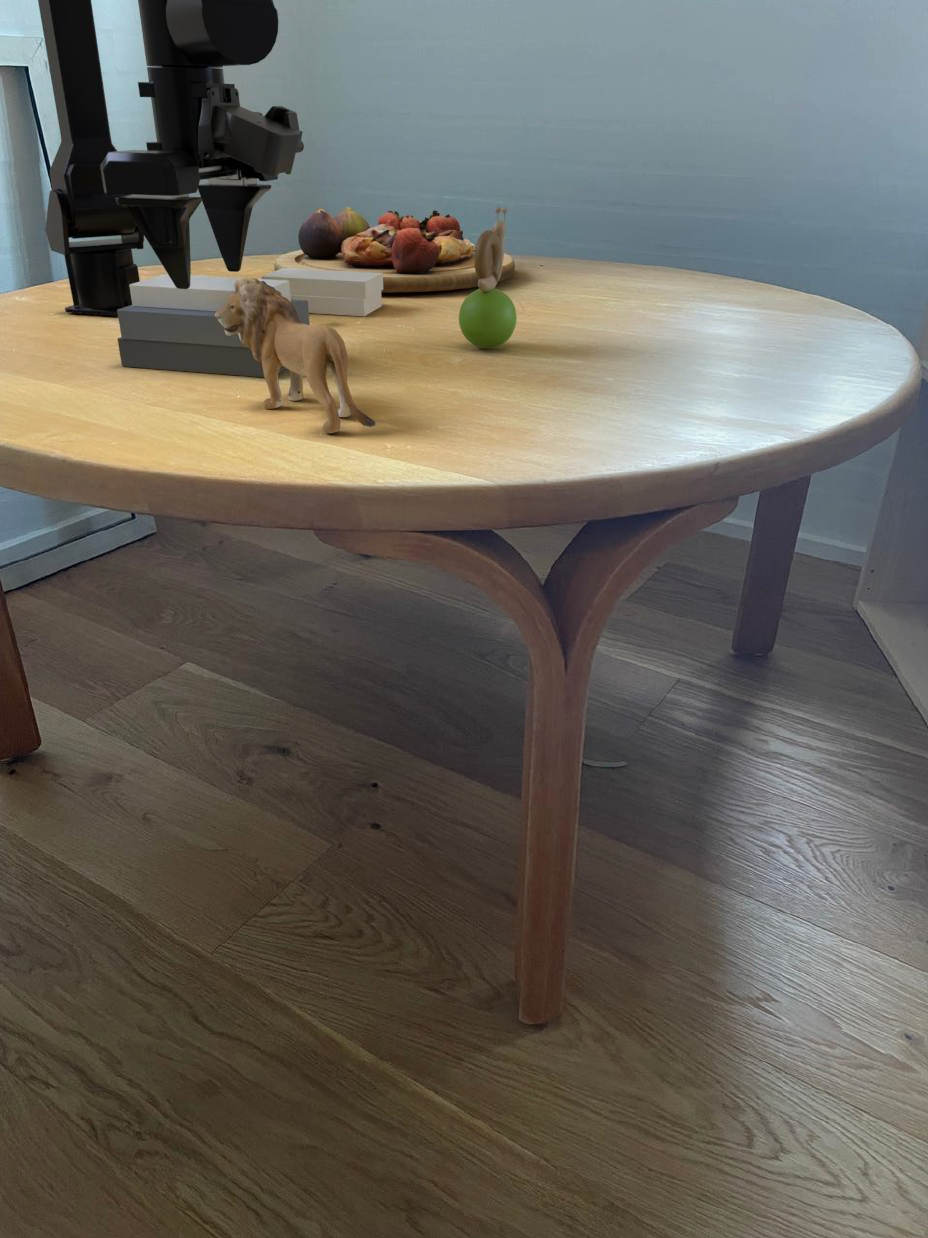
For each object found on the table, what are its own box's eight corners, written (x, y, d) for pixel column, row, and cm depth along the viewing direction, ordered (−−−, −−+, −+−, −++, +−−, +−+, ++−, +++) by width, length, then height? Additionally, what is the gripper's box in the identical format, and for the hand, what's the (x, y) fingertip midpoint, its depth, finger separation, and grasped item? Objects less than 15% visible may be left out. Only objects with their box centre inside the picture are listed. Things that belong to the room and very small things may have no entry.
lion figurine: (216, 401, 71) (201, 278, 67) (270, 387, 75) (259, 270, 70) (348, 442, 63) (341, 305, 58) (402, 424, 66) (399, 294, 62)
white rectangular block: (132, 306, 79) (128, 284, 78) (168, 294, 84) (165, 273, 83) (262, 314, 76) (260, 292, 75) (291, 301, 81) (289, 280, 81)
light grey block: (262, 310, 102) (258, 275, 101) (284, 300, 108) (281, 267, 106) (366, 316, 100) (364, 281, 98) (383, 306, 105) (382, 272, 103)
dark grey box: (121, 366, 80) (111, 309, 78) (174, 343, 88) (166, 291, 85) (271, 378, 77) (266, 319, 75) (313, 353, 85) (309, 299, 82)
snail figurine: (525, 341, 90) (530, 207, 84) (506, 356, 85) (510, 214, 79) (472, 337, 92) (474, 205, 86) (450, 351, 86) (450, 211, 80)
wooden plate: (519, 299, 110) (522, 224, 106) (251, 295, 110) (244, 220, 106) (510, 259, 138) (512, 199, 133) (297, 256, 138) (293, 196, 134)
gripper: (225, 63, 62) (249, 304, 70) (326, 72, 78) (337, 268, 85) (78, 62, 64) (117, 296, 72) (206, 71, 80) (226, 262, 88)
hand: (210, 279), depth 79 cm, fingers open, 9 cm apart
